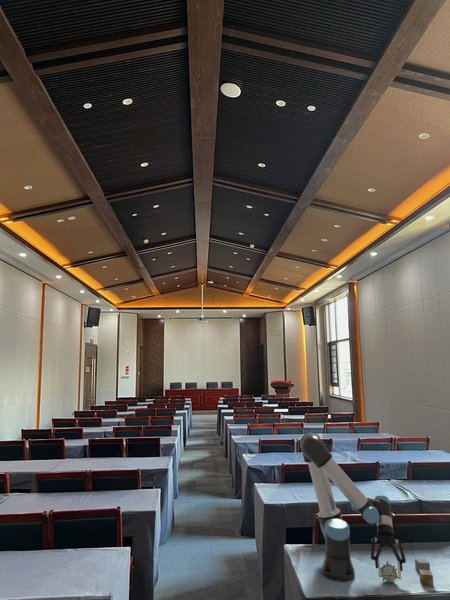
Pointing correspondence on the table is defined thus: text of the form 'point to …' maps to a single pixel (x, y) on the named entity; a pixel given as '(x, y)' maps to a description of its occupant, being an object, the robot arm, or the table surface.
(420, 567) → the slate block
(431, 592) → the table surface
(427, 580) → the walnut block
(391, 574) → the spiky ball
